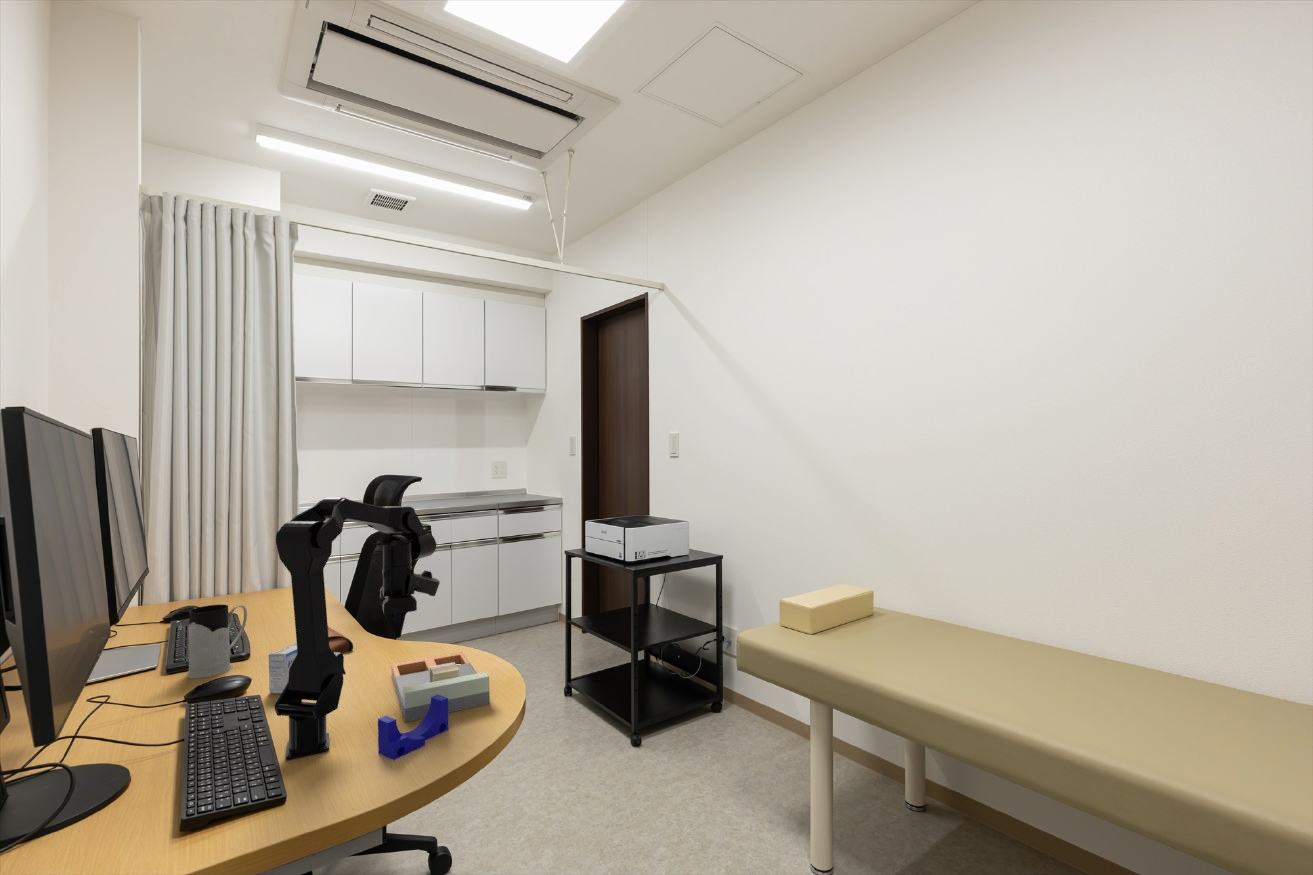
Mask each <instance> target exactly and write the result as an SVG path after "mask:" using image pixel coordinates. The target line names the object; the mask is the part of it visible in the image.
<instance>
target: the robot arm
mask: <svg viewBox="0 0 1313 875" xmlns="http://www.w3.org/2000/svg"><path fill="white" fill-rule="evenodd" d="M415 511H416V509H415V508H414V507H412V506H387V505H385V506H381V505H375V504H370V503H366V502H360V501H355V500H351V499H349V498H346V497H325V498H322V499H321V500H319V501H318V502H317V503H316V504H315V505H314V506H312V507H310V508H308V509H307V510H304V511H303V512H301V513H299V514H297V515H295V516H294V517H293V518H292V519H291V520H289V521H287V522H285V523H284V524H283V525H282V526H281V527H280V529H279V530H277V532H276V534H275V545H276V549H277V553H278V558H279V560H280V561H281V563H282V564H283V565H284V567H285V568H286V569H287V571H288V573H290V577H291V579H290V580H291V590H292V604H293V614H294V615H293V616H294V627H295V636H296V637H295V638H296V643H297V655H296V657H295V659H294V661H293V663H292V665H291V667H290V668H289V680H288V683H287V685H286V687H285V688H284V690H283V692H282V694H279V697H278V699H277V701H276V702H275V704H274V706H273V709H274V710H275V713H276V716H279V717H281V716H285V717H288V741H287V742H286V750H285V757H284V758H285V760H291V759H296V758H300V757H305V756H309V755H313V754H319V753H321V752H322V753H323V752H325V751H329V750H330V733H329V732H327V715H328V714H330V713H332V712H334V711H336V710H337V709H338V707H339V703H340V699H341V694H342V690H343V686H344V675H346V673H347V672H346V671H345V665H344V664H345V662H344V660H345V657H344V653H341V652H333V651H332V650H331V648H330V646H329V636H328V627H329V624H328V614H327V600H326V599H327V598H326V588H325V574H324V568H325V566H326V564H327V563H328V561H329V559H330V557H331V555H332V552H333V542H334V541H335V540H336V538H337V537H339V535H341V533H342V532H343V528H344V523H345V521H346V522H352V523H357V524H364V525H369V526H371V527H372V528H373V529H374V530H375V531H378V532H380V533H383V535H382V536H381V538H380V539H378V540H377V541H376V543H375V545H376V547H382V571H381V572H382V586H381V587H380V589H379V592H380V594H379V597H380V600H382V599H384V598H385V599H384V600H383V601H382V603H381V607H382V611H383V615H384V617H385V618H386V621H387V622H388V626H389V628H390V630H391V632H392V634H393V636H394V639H399V638H401V636H402V632H403V628H404V623H405V619H406V615H407V613H411V612H416V611H417V609H418V607H417V606H418V604H417V603H418V601H417V598H416V597H415V596H413V595H415V592H417V593H421V594H426V595H429V596H430V597H436V594H437V591H438V589H439V586H440V583H441V582H440V580H439V579H437V578H436V577H433V573H432V572H431V571H428V570H426V569H425V570H423V572H421V573H415V570H414V569H413V567H412V564H413V563H412V562H413V561H417V560H420V559H423V558H426V557H427V558H428V557H429V556H432V555H433V554H434V553H435V551H436V549H437V541H436V538H435V537H434V535H433V534H432V533H430V532H429V528H428V527H424V526H423V524H422V523H421V520H420V518H419V516H418V514H417V513H416V512H415ZM325 521H326V522H325ZM303 700H304V701H303ZM309 701H316V702H309Z"/></svg>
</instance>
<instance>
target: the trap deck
mask: <svg viewBox="0 0 1313 875" xmlns="http://www.w3.org/2000/svg"><path fill="white" fill-rule="evenodd" d="M453 662H455V664H461V665H456V666H457V667H458V669H459V677H456V678H451V679H446V680H440V681H435V682H430V667H431V666H436V665H442V664H447V663H453ZM390 668H391V671H390V672H391V677H392V681H393V685H394V688H395V691H396V695H397V699H398V702H399V706H400V709H401V713H402V716H403V719H404V720H403V721H404V723H406V722H407V723H408V722H413V721H417V720H420V719H424V718H425V716H426V715H427V713H428V710H429V707H430V703H431V697H433V696H435V695H441V696H444V697H447V698H448V714H449V713H452V712H457V711H462V710H466V709H471V708H476V707H480V706H485V705H490V704H491V701H490V700H491V696H490V694H491V693H490V675H489V673H487V671H483V672H482V671H481V672H477V671H476V669H475V668H474V666H473V665H472V664H471V662H470V661H469V659H468V657H467V656H466V655H465V653H464V651H458V652H453V653H447V654H442V655H435V656H430V657H425V658H418V659H417V658H416V659H413V660H407V661H402V662H395V663H394V662H393V663H391V667H390Z"/></svg>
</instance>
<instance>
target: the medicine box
mask: <svg viewBox="0 0 1313 875" xmlns="http://www.w3.org/2000/svg"><path fill="white" fill-rule="evenodd" d="M296 655H297V642H295V643H294V644H291V645H288V646H285V647H284V648H281V649H279V650H276V651H274V652H271V653H269V654H268V684H269V685H268V692H269V694H273V695H274V694H276V695H277V694H279V695H281V694H282V692H283V690H284V688H285V687H286V685H287V683H288V680H289V668H290V667H291V665H292V663H293V661H294V659H295V657H296Z"/></svg>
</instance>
